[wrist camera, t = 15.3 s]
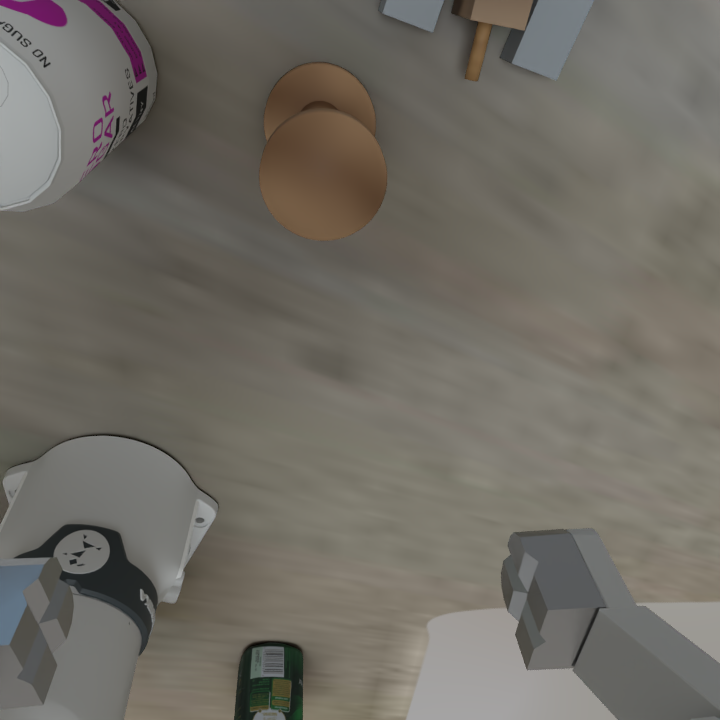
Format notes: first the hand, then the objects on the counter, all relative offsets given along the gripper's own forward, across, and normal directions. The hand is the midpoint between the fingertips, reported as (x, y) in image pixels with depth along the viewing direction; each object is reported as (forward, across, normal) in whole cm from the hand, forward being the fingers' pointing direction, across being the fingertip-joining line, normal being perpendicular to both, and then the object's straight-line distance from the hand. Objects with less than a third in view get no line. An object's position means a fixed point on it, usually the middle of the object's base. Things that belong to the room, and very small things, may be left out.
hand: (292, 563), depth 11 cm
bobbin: (+33, -1, -1) cm, 33 cm away
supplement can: (+33, +12, -4) cm, 35 cm away
